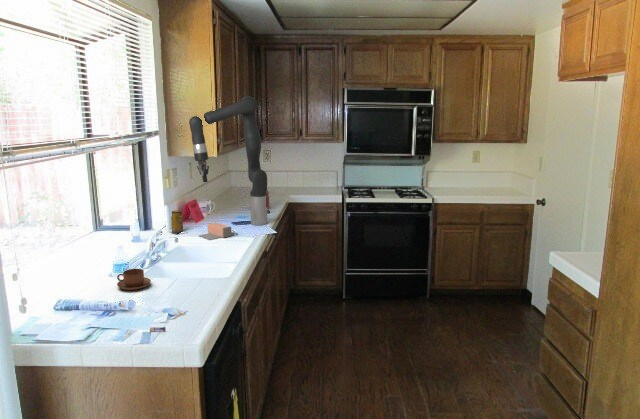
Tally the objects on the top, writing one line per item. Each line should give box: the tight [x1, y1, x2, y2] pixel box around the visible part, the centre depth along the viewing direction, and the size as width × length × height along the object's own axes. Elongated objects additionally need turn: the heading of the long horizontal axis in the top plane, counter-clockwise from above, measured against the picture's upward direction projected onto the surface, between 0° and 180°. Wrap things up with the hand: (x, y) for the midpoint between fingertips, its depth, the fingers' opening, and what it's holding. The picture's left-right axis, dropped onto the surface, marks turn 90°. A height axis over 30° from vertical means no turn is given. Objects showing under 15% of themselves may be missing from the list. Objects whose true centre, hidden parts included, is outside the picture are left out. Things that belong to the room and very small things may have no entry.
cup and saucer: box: [116, 268, 152, 291], centre depth 184 cm, size 12×12×6 cm
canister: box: [266, 187, 270, 210], centre depth 337 cm, size 13×13×18 cm
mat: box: [197, 231, 238, 241], centre depth 263 cm, size 18×11×1 cm, turn 136°
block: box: [207, 222, 232, 238], centre depth 263 cm, size 5×5×15 cm
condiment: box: [169, 209, 188, 235], centre depth 268 cm, size 7×8×12 cm
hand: (205, 182), depth 277 cm, fingers closed
